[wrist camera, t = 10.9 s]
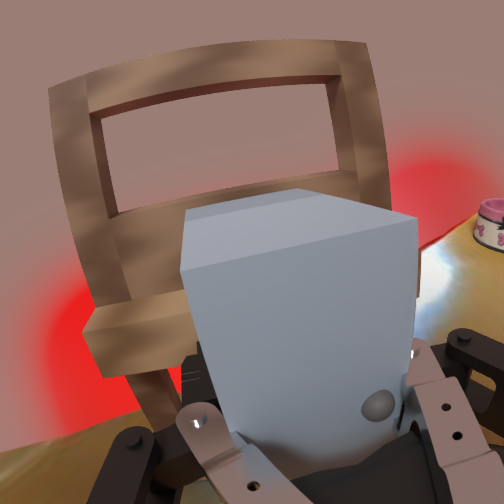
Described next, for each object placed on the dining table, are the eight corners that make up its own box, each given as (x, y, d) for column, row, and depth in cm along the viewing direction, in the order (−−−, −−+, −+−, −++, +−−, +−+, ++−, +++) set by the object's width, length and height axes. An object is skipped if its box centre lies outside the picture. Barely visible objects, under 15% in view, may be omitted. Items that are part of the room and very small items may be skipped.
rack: (168, 490, 15) (15, 81, 8) (167, 426, 21) (68, 105, 14) (404, 421, 18) (400, 30, 10) (365, 373, 24) (341, 61, 16)
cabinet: (272, 539, 8) (178, 283, 5) (238, 413, 16) (185, 210, 13) (383, 500, 9) (436, 223, 5) (318, 391, 17) (297, 188, 14)
